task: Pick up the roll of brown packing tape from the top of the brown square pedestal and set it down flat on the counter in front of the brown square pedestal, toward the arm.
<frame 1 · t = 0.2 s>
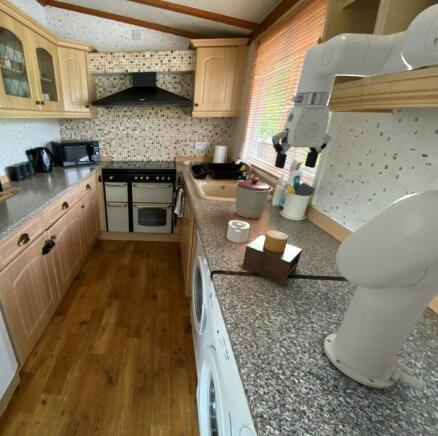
hand: (294, 167, 70), 37 cm above the worktop, tool pointing down, fingers open, 9 cm apart
canister: (248, 215, 134), on the worktop
white slotted cylinder: (237, 233, 113), on the worktop
tape roll: (274, 247, 83), point 9 cm above the worktop, touching brown square pedestal
brown square pedestal: (268, 269, 86), on the worktop
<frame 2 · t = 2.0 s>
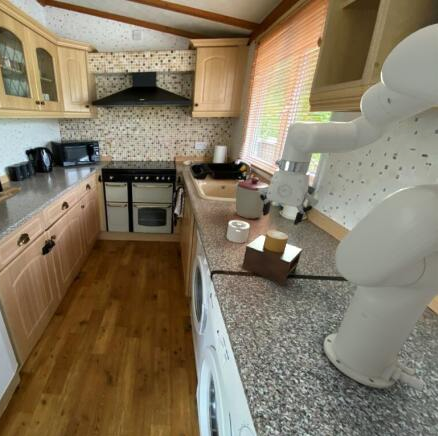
hand: (280, 219, 79), 19 cm above the worktop, tool pointing down, fingers open, 9 cm apart
nothing on the worktop moved.
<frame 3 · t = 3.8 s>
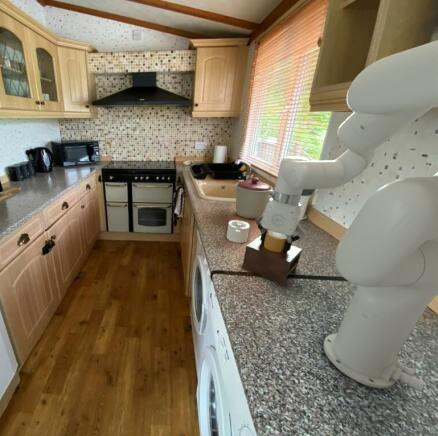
hand: (274, 246, 83), 9 cm above the worktop, tool pointing down, fingers closed on tape roll, 6 cm apart
tape roll: (274, 247, 83), point 9 cm above the worktop, touching gripper, brown square pedestal
everything else where it was.
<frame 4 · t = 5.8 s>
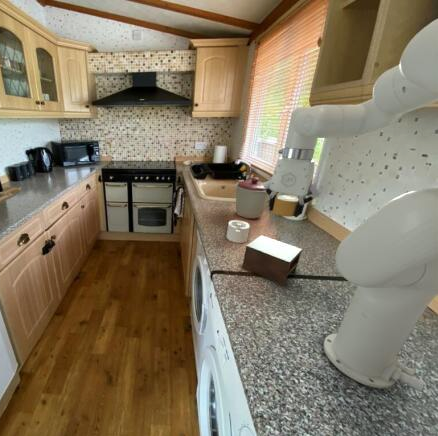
hand: (284, 212, 76), 22 cm above the worktop, tool pointing down, fingers closed on tape roll, 6 cm apart
tape roll: (284, 212, 76), point 22 cm above the worktop, touching gripper
everything else where it was.
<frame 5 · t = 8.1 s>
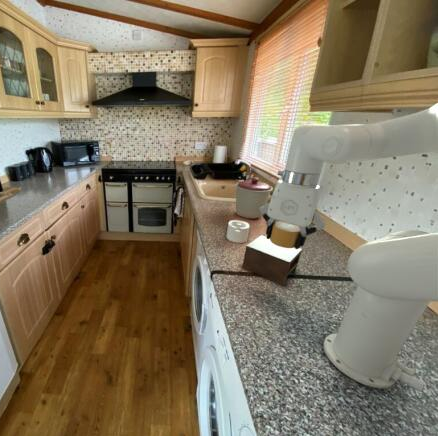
hand: (283, 241, 66), 19 cm above the worktop, tool pointing down, fingers closed on tape roll, 6 cm apart
tape roll: (283, 242, 66), point 18 cm above the worktop, touching gripper
everything else where it was.
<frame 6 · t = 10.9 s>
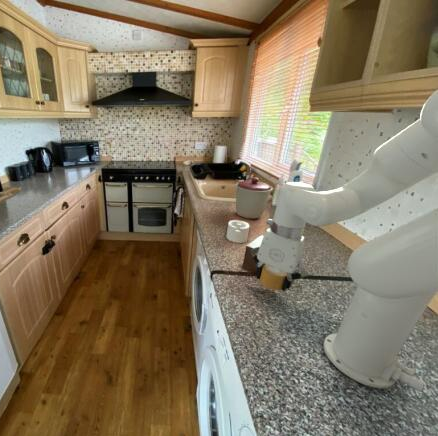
hand: (271, 282, 72), 5 cm above the worktop, tool pointing down, fingers closed on tape roll, 6 cm apart
tape roll: (271, 282, 72), point 5 cm above the worktop, touching gripper
everything else where it was.
when the fingers open (0 cm above the worktop, at t = 12.6 s): tape roll stays where it is, on the worktop.
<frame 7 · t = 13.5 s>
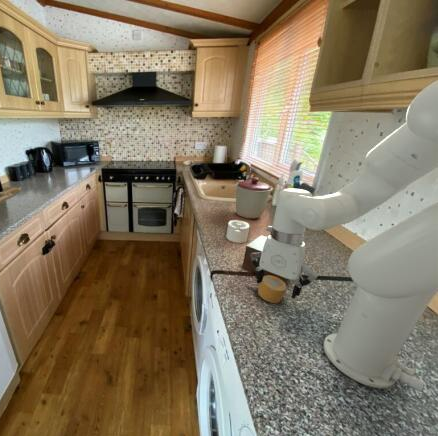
hand: (276, 288, 71), 4 cm above the worktop, tool pointing down, fingers open, 9 cm apart
tape roll: (269, 294, 73), on the worktop, tilted 6°
everything else where it was.
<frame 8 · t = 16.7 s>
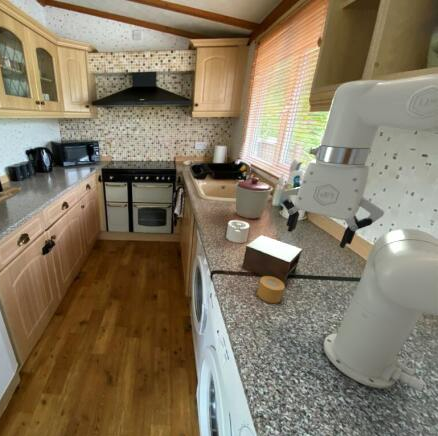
hand: (315, 237, 52), 26 cm above the worktop, tool pointing down, fingers open, 9 cm apart
tape roll: (268, 295, 74), on the worktop
everything else where it was.
at the end: tape roll inside the target area (0.2 cm from its centre), on the worktop; tape roll touching worktop; tape roll tilted 0° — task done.
